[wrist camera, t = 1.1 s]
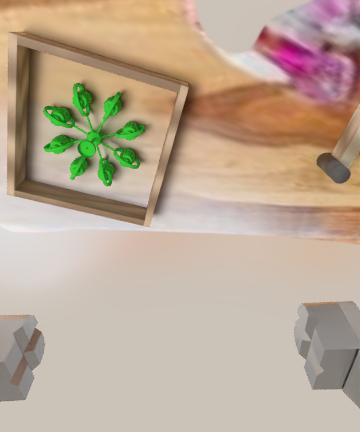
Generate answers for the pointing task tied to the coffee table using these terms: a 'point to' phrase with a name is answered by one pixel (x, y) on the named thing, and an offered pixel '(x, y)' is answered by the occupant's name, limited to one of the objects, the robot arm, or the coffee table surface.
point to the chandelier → (92, 135)
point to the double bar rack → (343, 152)
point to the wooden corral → (18, 129)
